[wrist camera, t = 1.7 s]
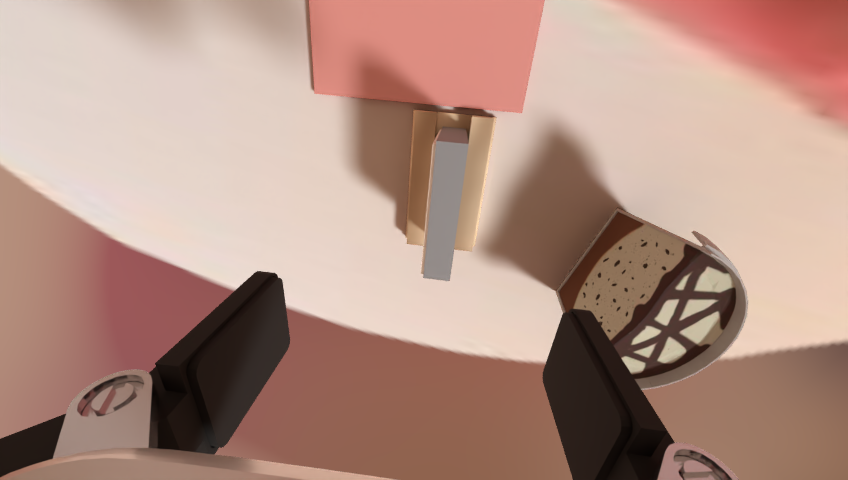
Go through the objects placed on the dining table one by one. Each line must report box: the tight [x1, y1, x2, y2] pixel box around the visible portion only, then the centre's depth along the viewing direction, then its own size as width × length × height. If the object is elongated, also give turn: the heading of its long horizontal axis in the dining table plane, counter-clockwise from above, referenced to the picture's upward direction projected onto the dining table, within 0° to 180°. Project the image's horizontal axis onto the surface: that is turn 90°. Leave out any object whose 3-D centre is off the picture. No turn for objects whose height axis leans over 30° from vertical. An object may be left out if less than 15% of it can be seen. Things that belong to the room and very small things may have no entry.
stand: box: [405, 110, 496, 251], centre depth 26 cm, size 6×11×2 cm, turn 175°
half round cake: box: [556, 208, 748, 390], centre depth 24 cm, size 12×6×10 cm, turn 158°
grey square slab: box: [421, 126, 469, 281], centre depth 23 cm, size 2×9×8 cm, turn 175°
